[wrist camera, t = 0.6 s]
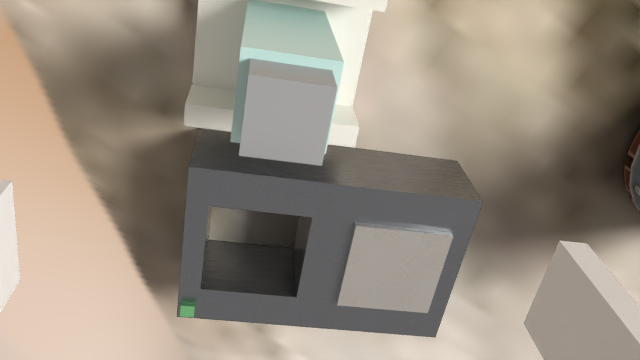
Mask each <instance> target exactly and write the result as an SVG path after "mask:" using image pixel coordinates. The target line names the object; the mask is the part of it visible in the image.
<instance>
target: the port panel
mask: <svg viewBox="0 0 640 360" xmlns="http://www.w3.org/2000/svg"><path fill="white" fill-rule="evenodd" d="M230 139H231V132H225V131H218V130H210V129H202V128H199V130H198V133H197V137H196V141H195V145H194V148H193V152H192V156H191V160H190V163H189V168H188V181H187V193H186V206H185V219H184V232H183V244H182V257H181V270H180V282H179V295H178V308H177V317H188V318H200V319H213V320H225V321H238V322H250V323H263V324H275V325H288V326H300V327H313V328H325V329H338V330H350V331H363V332H375V333H388V334H400V335H413V336H425V337H436V334H437V331H438V328H439V326H440V323H441V320H442V317H443V314H444V311H445V308H446V306H447V303H448V300H449V297H450V294H451V291H452V288H453V286H454V283H455V280H456V277H457V274H458V271H459V268H460V266H461V263H462V260H463V257H464V254H465V251H466V248H467V246H468V243H469V240H470V237H471V234H472V231H473V229H474V226H475V223H476V220H477V217H478V214H479V211H480V209H481V206H482V203H483V201H482V199H481V198H480V196H479V194H478V193H477V191H476V190H475V188H474V187H473V185H472V183H471V182H470V180H469V179H468V177H467V176H466V174H465V172H464V171H463V169H462V168H461V166H460V165H459V163H458V161H452V160H444V159H437V158H429V157H421V156H413V155H405V154H398V153H390V152H382V151H374V150H366V149H358V148H351V147H343V146H335V145H328V146H327V151H326V154H324V158H323V163H322V166H319V165H311V164H303V163H295V162H286V161H278V160H270V159H262V158H254V157H246V156H239V149H240V143H235V142H230ZM212 206H213V207H222V208H231V209H240V210H249V211H259V212H268V213H277V214H286V215H295V216H299V221H298V227H297V232H296V237H295V243H294V248H283V247H273V246H263V245H253V244H243V243H233V242H223V241H213V240H208V238H209V229H210V219H211V209H212Z"/></svg>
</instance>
